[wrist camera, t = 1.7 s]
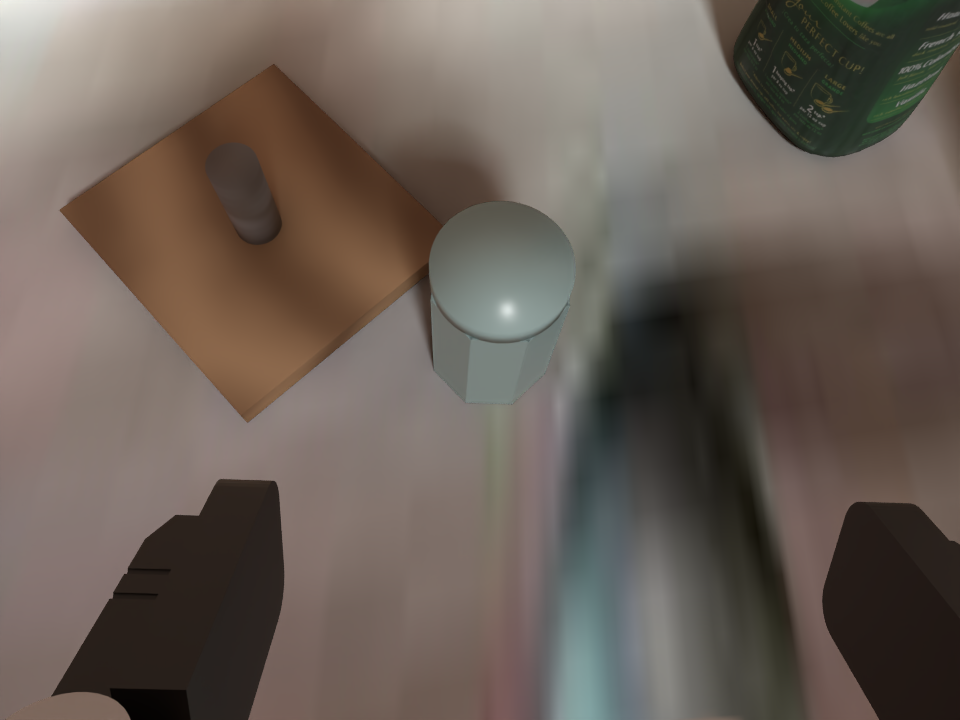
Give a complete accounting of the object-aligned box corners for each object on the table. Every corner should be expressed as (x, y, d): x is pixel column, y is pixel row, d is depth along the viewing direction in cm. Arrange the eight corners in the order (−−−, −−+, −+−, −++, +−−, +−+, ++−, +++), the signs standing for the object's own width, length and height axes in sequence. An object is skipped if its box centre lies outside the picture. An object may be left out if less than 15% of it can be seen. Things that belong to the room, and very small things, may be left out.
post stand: (278, 79, 42) (251, -12, 36) (456, 250, 39) (457, 181, 33) (70, 222, 38) (3, 147, 32) (247, 422, 35) (207, 379, 29)
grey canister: (490, 278, 38) (503, 175, 30) (569, 353, 37) (605, 269, 28) (409, 348, 37) (398, 261, 28) (488, 428, 35) (501, 363, 27)
